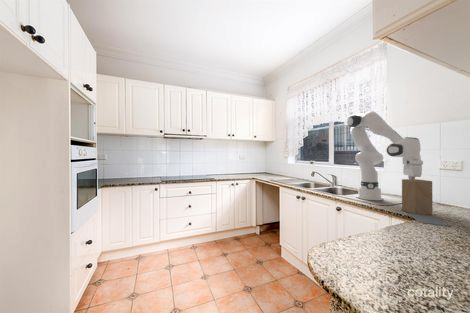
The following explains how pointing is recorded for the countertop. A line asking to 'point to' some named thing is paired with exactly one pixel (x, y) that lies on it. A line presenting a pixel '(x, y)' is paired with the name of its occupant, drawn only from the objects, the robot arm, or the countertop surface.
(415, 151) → the robot arm
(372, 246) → the countertop surface
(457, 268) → the countertop surface
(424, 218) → the mat
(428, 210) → the wooden block
